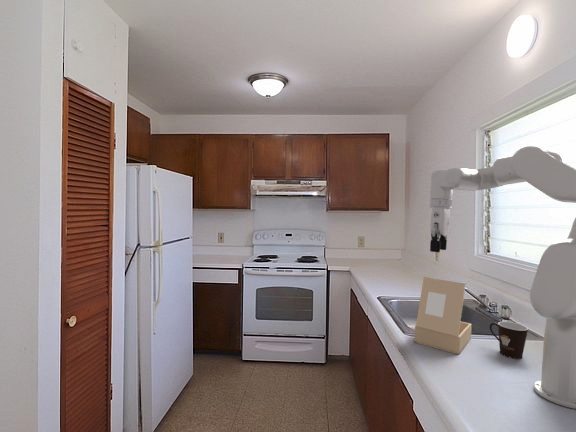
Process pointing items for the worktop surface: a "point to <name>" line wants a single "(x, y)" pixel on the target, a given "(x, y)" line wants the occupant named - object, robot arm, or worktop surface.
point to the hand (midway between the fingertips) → (438, 250)
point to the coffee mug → (511, 338)
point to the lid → (441, 306)
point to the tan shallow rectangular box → (444, 338)
